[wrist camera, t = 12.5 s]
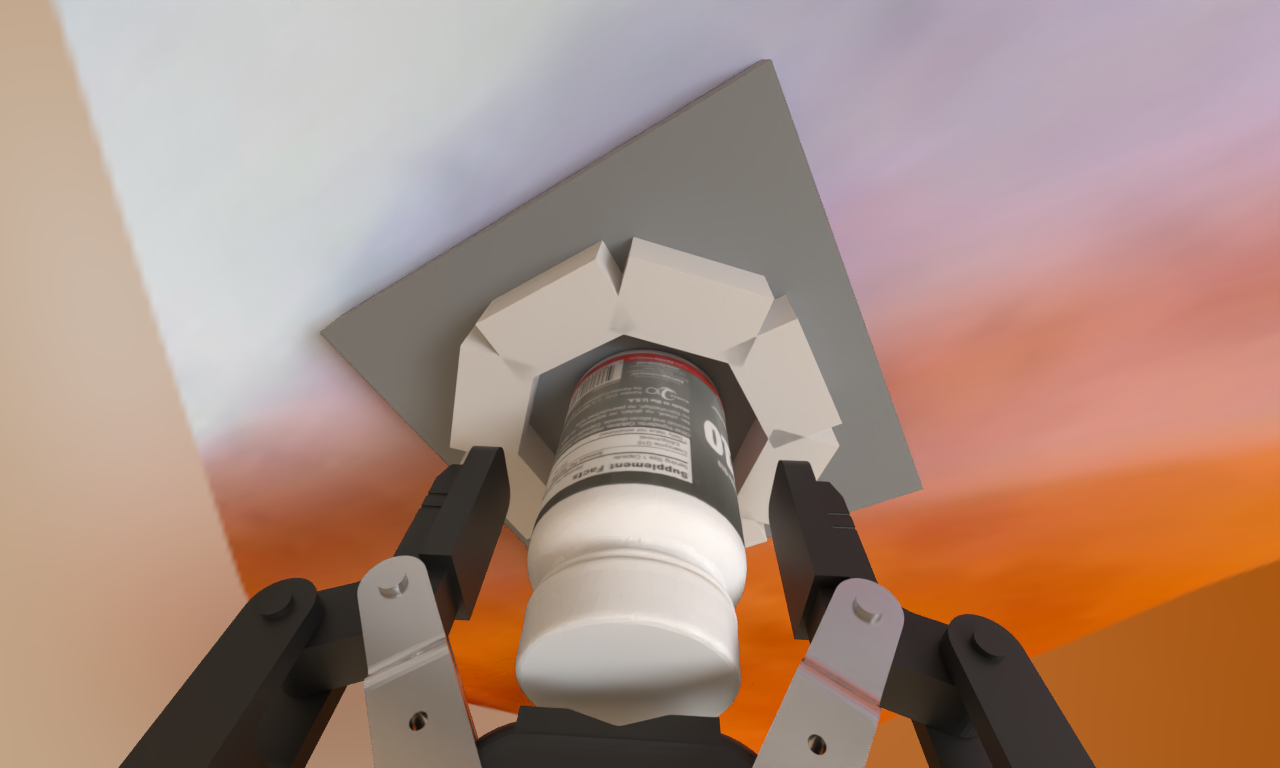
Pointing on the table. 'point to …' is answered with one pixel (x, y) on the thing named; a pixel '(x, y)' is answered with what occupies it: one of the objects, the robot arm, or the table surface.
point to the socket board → (673, 200)
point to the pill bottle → (637, 550)
